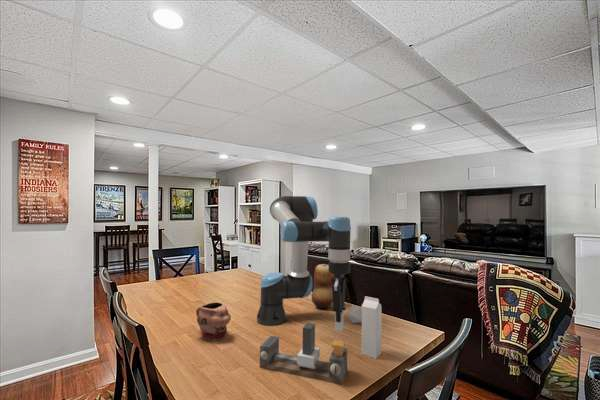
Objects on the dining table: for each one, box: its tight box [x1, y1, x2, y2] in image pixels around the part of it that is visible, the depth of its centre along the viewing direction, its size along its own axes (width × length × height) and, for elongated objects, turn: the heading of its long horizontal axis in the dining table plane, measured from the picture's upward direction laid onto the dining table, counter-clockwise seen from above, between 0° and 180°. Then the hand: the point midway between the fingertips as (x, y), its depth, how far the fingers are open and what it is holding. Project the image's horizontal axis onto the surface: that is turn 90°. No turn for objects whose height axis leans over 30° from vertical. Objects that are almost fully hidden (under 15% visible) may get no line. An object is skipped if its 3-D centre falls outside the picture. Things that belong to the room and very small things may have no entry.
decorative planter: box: [195, 302, 232, 341], centre depth 128 cm, size 20×12×14 cm, turn 65°
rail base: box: [259, 335, 348, 385], centre depth 102 cm, size 30×10×8 cm, turn 71°
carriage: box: [296, 322, 321, 369], centre depth 101 cm, size 6×8×13 cm
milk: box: [361, 295, 383, 360], centre depth 114 cm, size 6×6×22 cm
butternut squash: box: [310, 263, 334, 309], centre depth 169 cm, size 14×13×25 cm
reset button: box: [331, 339, 347, 356], centre depth 98 cm, size 4×4×4 cm
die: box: [348, 305, 362, 324], centre depth 146 cm, size 8×9×10 cm
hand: (339, 330), depth 98 cm, fingers closed
